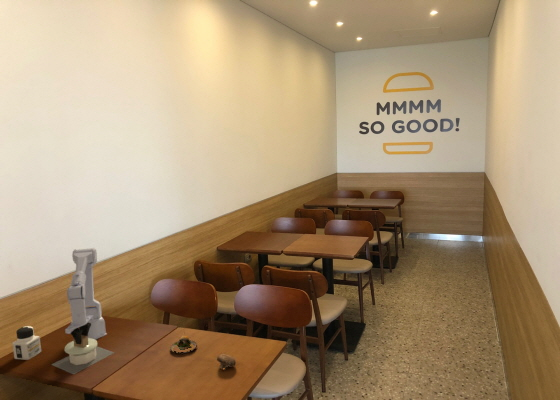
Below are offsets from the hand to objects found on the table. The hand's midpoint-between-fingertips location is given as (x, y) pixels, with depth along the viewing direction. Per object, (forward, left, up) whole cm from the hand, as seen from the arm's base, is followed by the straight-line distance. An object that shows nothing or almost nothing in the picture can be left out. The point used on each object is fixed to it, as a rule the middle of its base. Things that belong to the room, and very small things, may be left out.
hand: (81, 341), depth 188 cm
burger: (-28, +33, -9) cm, 44 cm away
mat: (0, 0, -8) cm, 8 cm away
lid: (0, -1, -2) cm, 2 cm away
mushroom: (-25, +60, -8) cm, 66 cm away
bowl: (0, 0, -8) cm, 8 cm away
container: (+10, -26, -8) cm, 29 cm away
